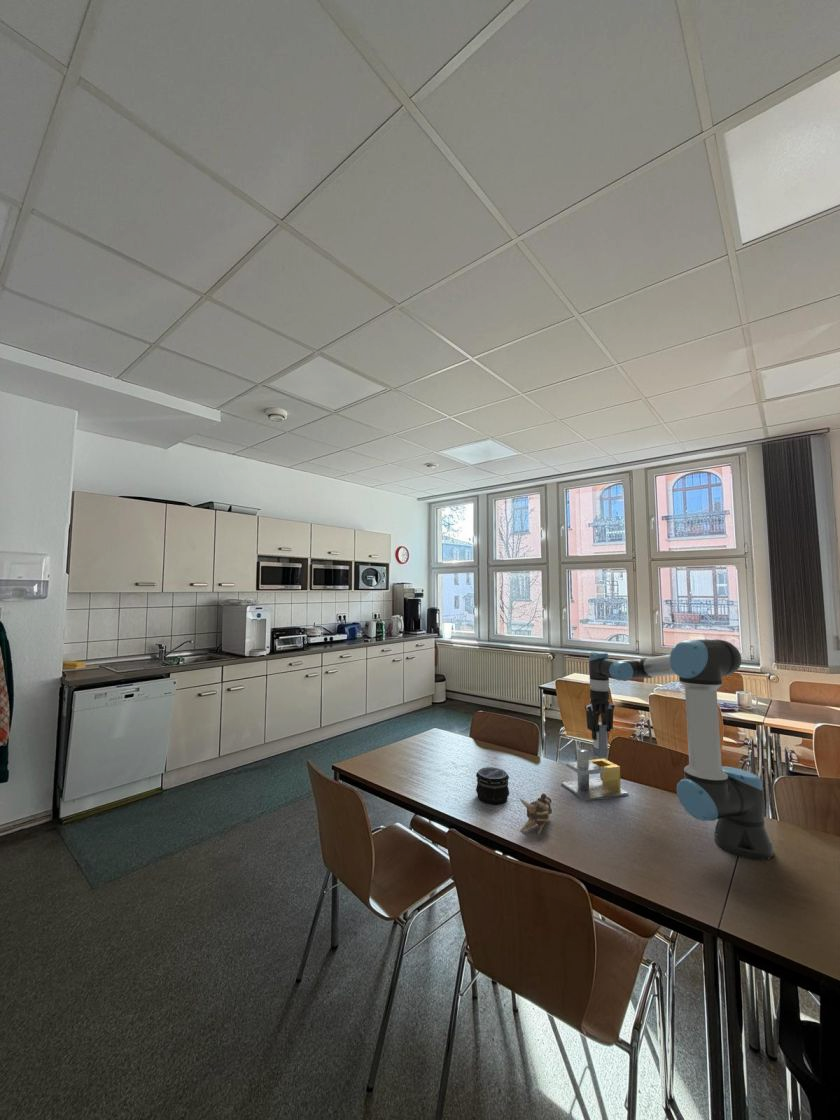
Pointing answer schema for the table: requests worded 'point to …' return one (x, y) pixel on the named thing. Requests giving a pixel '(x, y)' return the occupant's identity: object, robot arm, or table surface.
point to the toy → (537, 812)
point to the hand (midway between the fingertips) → (600, 747)
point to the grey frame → (594, 787)
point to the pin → (601, 741)
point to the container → (492, 786)
